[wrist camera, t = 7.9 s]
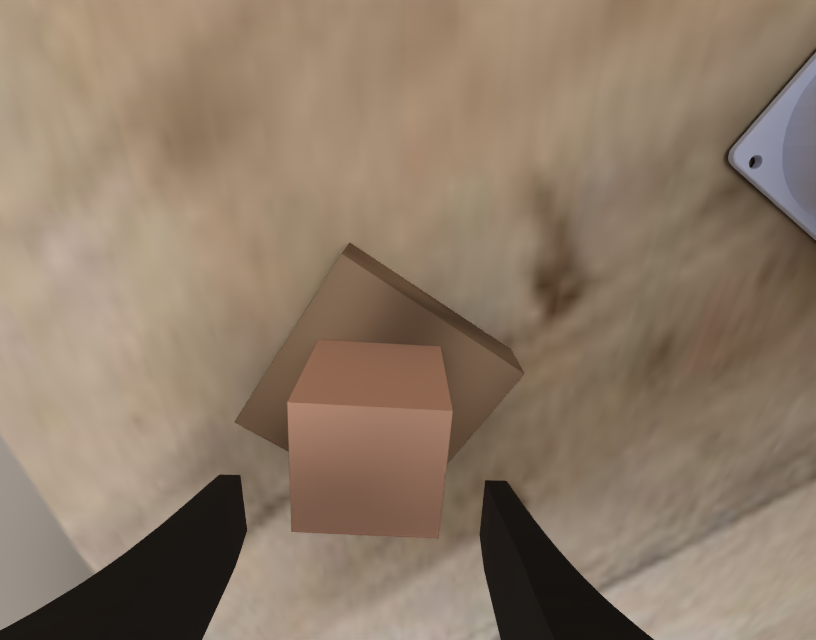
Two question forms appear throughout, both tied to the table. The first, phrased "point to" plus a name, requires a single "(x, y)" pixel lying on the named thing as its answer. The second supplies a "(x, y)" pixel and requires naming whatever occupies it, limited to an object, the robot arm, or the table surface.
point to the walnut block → (393, 324)
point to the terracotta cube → (369, 440)
